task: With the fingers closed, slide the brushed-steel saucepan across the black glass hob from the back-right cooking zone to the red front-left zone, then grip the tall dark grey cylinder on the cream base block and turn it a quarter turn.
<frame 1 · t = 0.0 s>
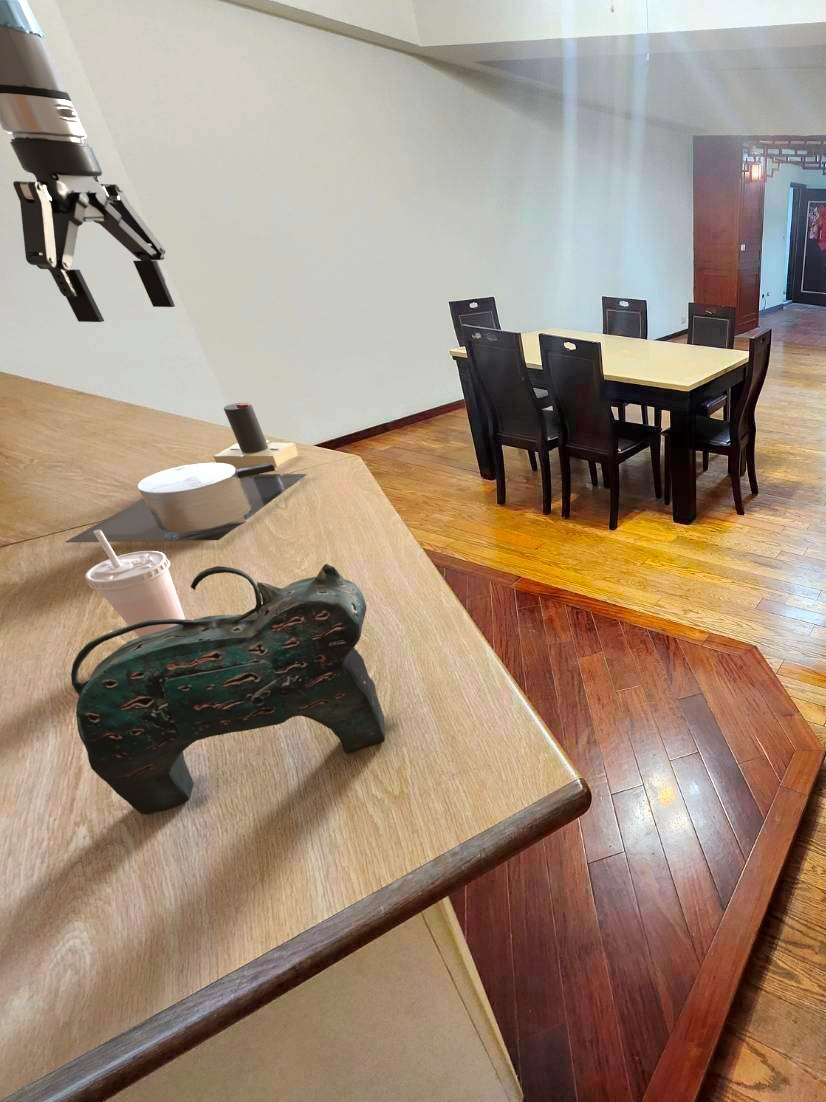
hand: (130, 313, 87), 27 cm above the counter, tool pointing down, fingers open, 13 cm apart
cream base block: (260, 461, 110), on the counter
ceramic cat: (281, 766, 52), on the counter
hob: (202, 506, 94), on the counter
smoothie: (169, 639, 66), on the counter
dark grey cylinder: (246, 427, 106), point 7 cm above the counter, hinge at 0.0°
saucepan: (209, 520, 89), point 1 cm above the counter, touching hob
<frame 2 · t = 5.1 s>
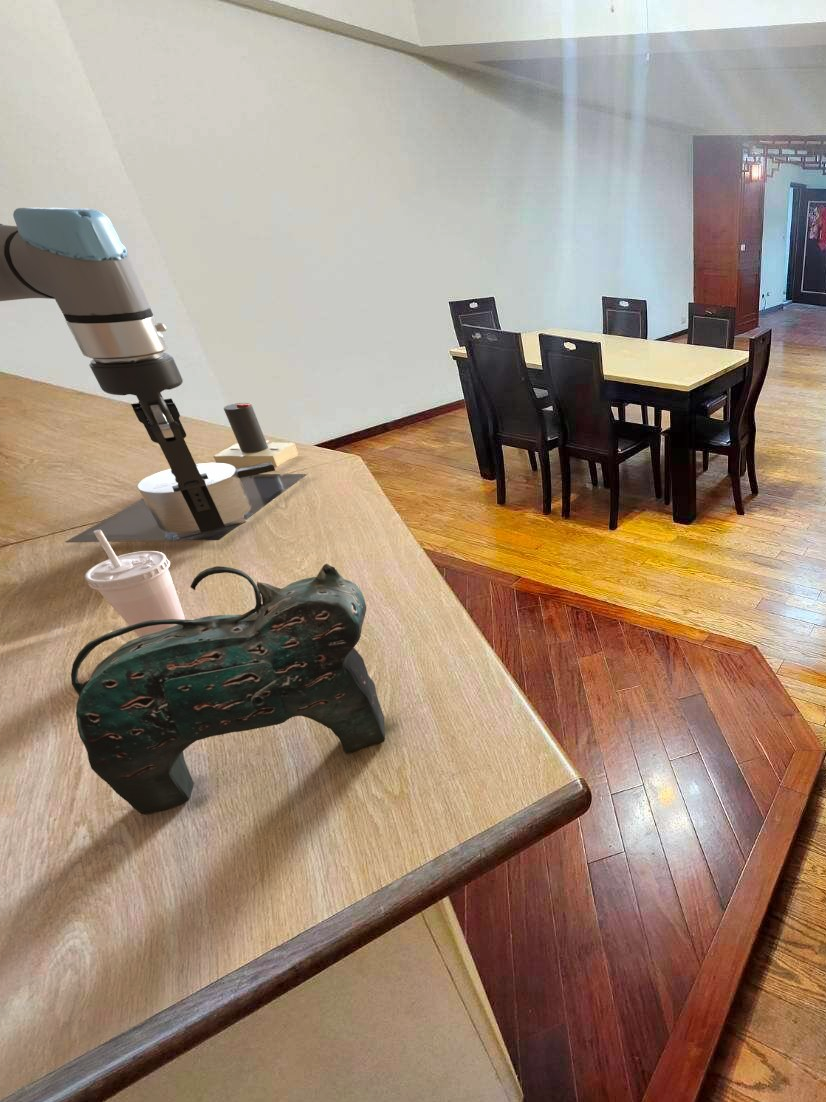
hand: (212, 527, 83), 3 cm above the counter, tool pointing down, fingers closed
saucepan: (209, 520, 89), point 1 cm above the counter, touching gripper, hob
everything else where it was.
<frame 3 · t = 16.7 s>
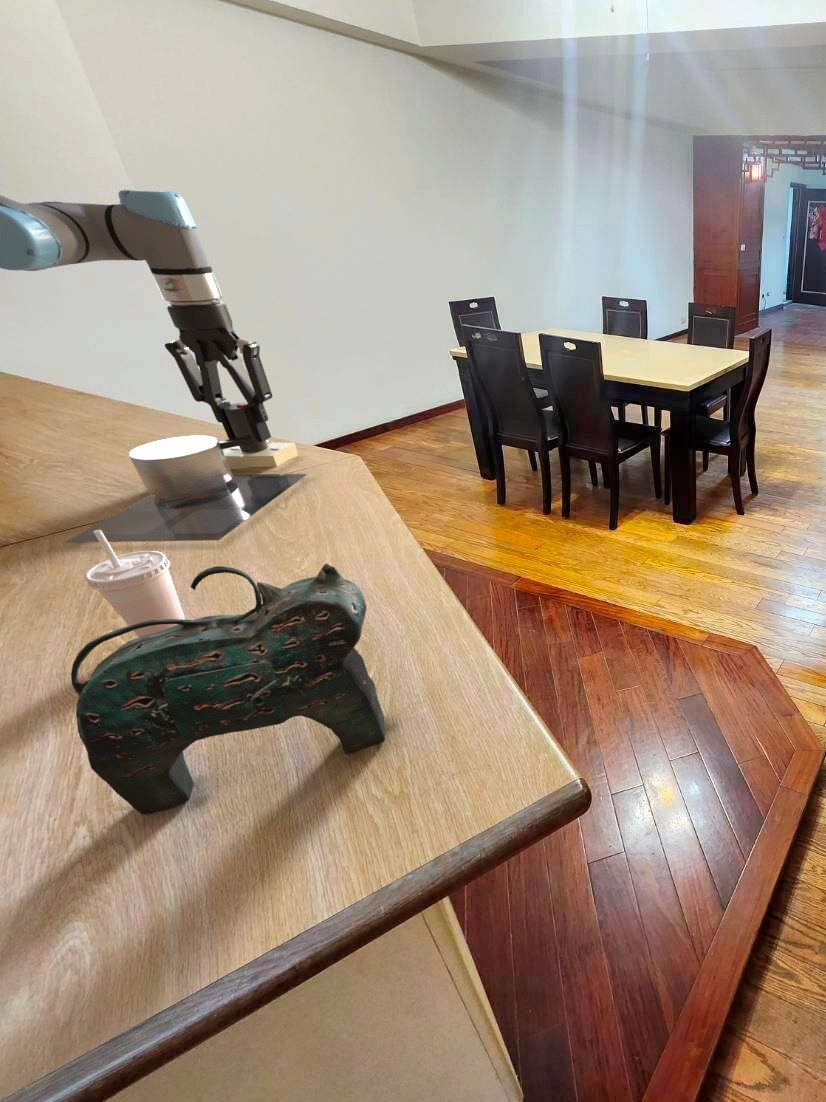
hand: (250, 439, 107), 4 cm above the counter, tool pointing down, fingers closed on dark grey cylinder, 4 cm apart
dark grey cylinder: (246, 427, 106), point 7 cm above the counter, hinge at 0.0°, touching gripper
saucepan: (194, 487, 98), point 1 cm above the counter, touching hob
everything else where it was.
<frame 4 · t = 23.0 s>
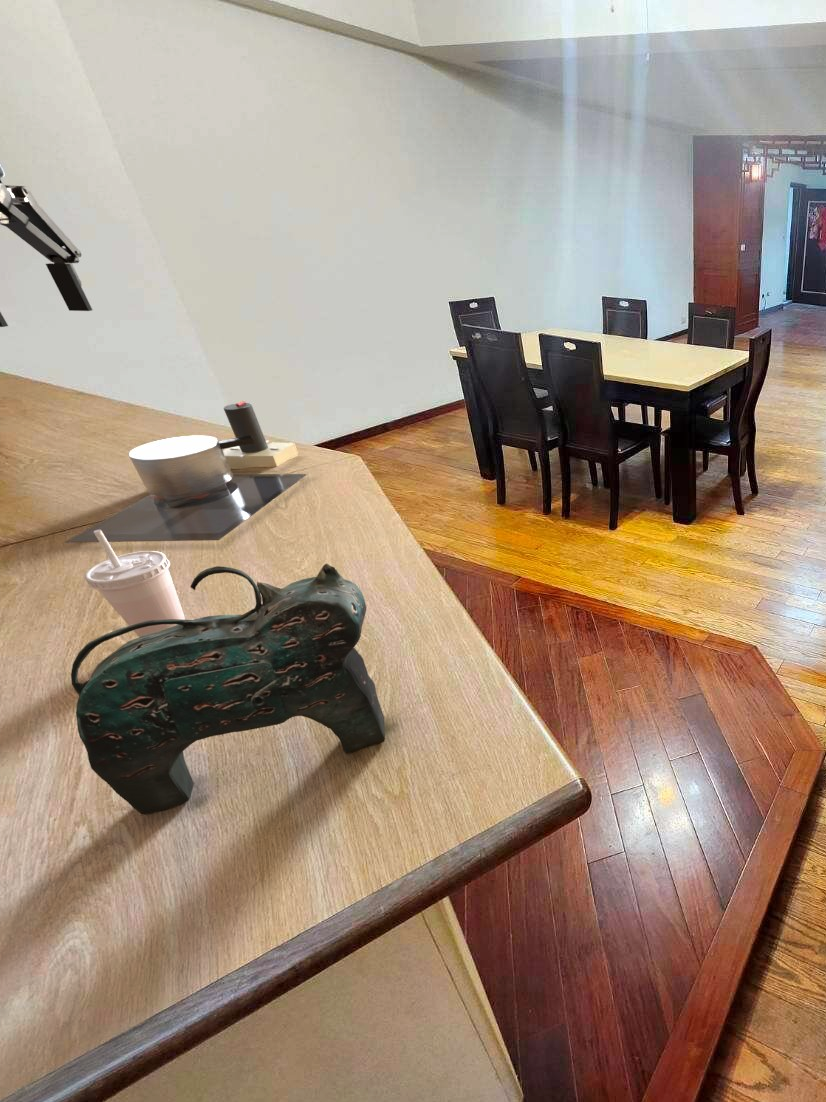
hand: (40, 318, 85), 27 cm above the counter, tool pointing down, fingers open, 13 cm apart
dark grey cylinder: (246, 427, 106), point 7 cm above the counter, hinge at 90.6°
everything else where it was.
at the end: saucepan 0.2 cm from the target spot, point 0.5 cm above the counter; saucepan tilted 0°; dark grey cylinder at +91° (first picture: +0°) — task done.
